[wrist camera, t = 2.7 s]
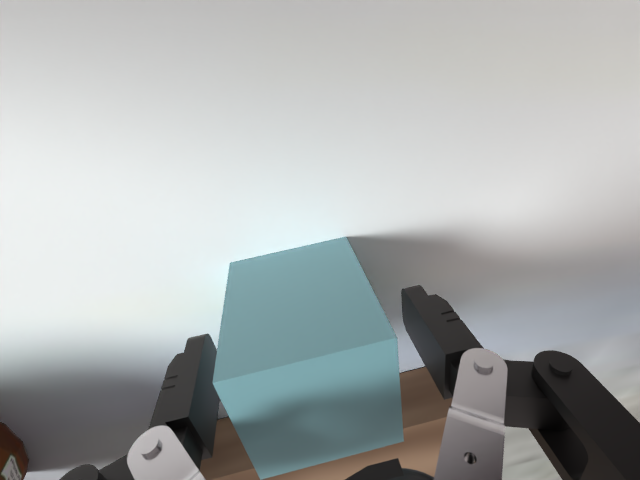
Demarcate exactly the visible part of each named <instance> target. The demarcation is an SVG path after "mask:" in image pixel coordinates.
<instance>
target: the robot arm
mask: <svg viewBox="0 0 640 480" xmlns="http://www.w3.org/2000/svg"><path fill="white" fill-rule="evenodd" d="M401 296H402V315H403V322H404V325H405V328H406V331H407V333H408V335H409V336H410V338H411V340H412V342H413V344H414V346H415V347H416V349H417V351H418V353H419V355H420V357H421V358H422V360H423V362H424V364H425V366H426V368H427V370H428V371H429V373H430V375H431V377H432V379H433V381H434V382H435V384H436V386H437V388H438V390H439V392H440V393H441V395H442V397H443V399H444V400H445V399H449V398H453V399H452V404H451V406H450V407H449V410H448V414H447V419H446V423H445V428H444V433H443V438H442V442H441V447H440V452H439V456H438V461H437V466H436V471H435V475H434V477H432V476H430V475H428V474H426V473H424V472H421V471H417V470H413V469H408V468H401V465H400V462H399V459H398V458H396V459H392V460H388V461H384V462H381V463H377V464H373V465H369V466H366V467H365V468H363V469H361V470H360V471H358V472H356V473H355V474H353V475H351V476H350V477H348V478H347V479H345V480H502V469H503V453H504V438H505V426H509V427H520V428H529V430H530V431H531V433H532V434H533V436H534V437H535V439H536V440H537V442H538V443H539V445H540V446H541V448H542V449H543V451H544V452H545V454H546V455H547V457H548V458H549V460H550V461H551V463H552V464H553V466H554V467H555V469H556V470H557V472H558V474H559V475H560V477H561V478H562V480H640V423H639V422H638V421H637V420H636V419H635V418H634V417H633V416H632V415H631V414H630V413H629V412H628V411H627V410H626V409H625V408H624V407H623V406H622V405H621V403H620V402H619V401H618V400H617V399H616V398H615V397H614V396H613V395H612V394H611V393H610V392H609V391H608V390H607V389H606V388H605V387H604V386H603V385H602V384H601V383H600V382H599V381H598V380H597V379H596V378H595V377H594V376H593V375H592V374H591V373H590V372H589V371H588V370H587V369H586V368H585V367H584V366H583V365H582V364H581V363H580V362H579V361H578V360H576V359H575V358H573V357H572V356H570V355H568V354H565V353H562V352H558V351H543V352H540V353H538V354H537V355H536V356H535V358H534V362H527V361H509V360H504V359H502V358H501V357H500V356H499V355H498V354H496V353H495V352H493V351H490V350H487V349H484V348H483V347H482V346H481V344H480V343H479V342H478V341H477V339H476V338H475V337H474V335H473V334H472V333H471V332H470V330H469V329H468V328H467V326H466V325H465V324H464V323H463V321H462V320H460V318H459V316H458V315H457V314H456V312H454V310H453V309H452V307H451V306H450V305H449V303H448V302H447V301H446V300H444V299H442V298H441V297H439V296H438V295H436V294H435V295H431V296H428V295H427V293H426V292H425V291H424V289H423V288H422V287H421V286H420V285H418V286H414V287H409V288H405V289H402V291H401ZM216 355H217V350H216V348H215V345H214V343H213V341H212V339H211V337H210V335H209V334H204V335H200V336H195V337H191V338H189V339H188V340H187V343H186V347H185V350H184V353H180V354H177V355H176V356H175V358H174V359H173V360H172V362H171V363H170V364H169V366H168V369H167V372H166V375H165V380H164V381H163V385H162V390H161V391H160V394H159V397H158V401H157V404H156V407H155V410H154V414H153V417H152V420H151V423H150V426H149V429H148V430H147V431H146V432H144V433H143V434H142V435H141V436H139V438H138V439H137V440H136V441H135V442H134V443H133V445H132V447H131V448H130V450H129V453H128V454H127V455H126V456H124V457H122V458H120V459H119V460H117V461H115V462H113V463H111V464H110V465H108V466H106V467H104V468H102V469H100V470H98V469H97V468H96V467H95V466H93V465H90V464H85V465H81V466H79V467H76V468H74V469H73V470H71V471H69V472H68V473H67V474H65V475H64V476H63V477H62V478H61V479H60V480H205V478H204V477H203V475H202V474H201V472H200V466H201V460H204V459H208V458H212V456H213V448H214V440H215V432H216V425H217V417H218V409H219V401H220V398H219V395H218V393H217V391H216V389H215V387H214V385H213V383H212V382H213V375H214V369H215V362H216Z"/></svg>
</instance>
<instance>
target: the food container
mask: <svg viewBox="0 0 640 480" xmlns="http://www.w3.org/2000/svg"><path fill="white" fill-rule="evenodd" d="M28 463H29V458H28V456H27V453H26V450H25V447H24V444H23V442H22V441H21V440H20V439H19V438H18V437H17V436H16V435H15V434H14V433H13V432H12V431H11V430H10V429H9V428H8V427H7V426H6V425H5V424H4V423H2V422H0V480H23V479H24V477H25V475H26V473H27V468H28Z"/></svg>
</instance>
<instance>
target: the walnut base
mask: <svg viewBox="0 0 640 480" xmlns="http://www.w3.org/2000/svg"><path fill="white" fill-rule="evenodd" d="M399 377H400V392H401V407H402V422H403V437H404V441H403V442H400V443H396V444H392V445H388V446H385V447H381V448H377V449H374V450H370V451H366V452H362V453H359V454H355V455H351V456H347V457H344V458H340V459H336V460H333V461H329V462H325V463H321V464H318V465H314V466H310V467H306V468H303V469H299V470H295V471H291V472H288V473H284V474H280V475H277V476H273V477H269V478H265V479H262V480H345V479H347V478H348V477H350V476H351V475H353V474H355V473H356V472H358V471H360V470H361V469H363V468H365V467H366V466H369V465H373V464H377V463H381V462H384V461H388V460H392V459H396V458H398V459H399V462H400V465H401V468H408V469H413V470H417V471H421V472H424V473H426V474H428V475H430V476H432V477H434V475H435V471H436V466H437V461H438V456H439V452H440V447H441V442H442V438H443V433H444V428H445V423H446V419H447V414H448V410H449V407H450V406H451V404H452V399H453V398H449V399H445V400H444V399H443V397H442V395H441V393H440V392H439V390H438V388H437V386H436V384H435V382H434V381H433V379H432V377H431V375H430V373H429V371H428V370H427V368H426V367H423V368H419V369H415V370H411V371H407V372H403V373H400V374H399ZM200 472H201V474H202V475H203V477H204V478H205V480H260V478H259V476H258V474H257V472H256V470H255V468H254V466H253V464H252V462H251V460H250V458H249V456H248V454H247V452H246V450H245V448H244V446H243V444H242V442H241V440H240V438H239V436H238V434H237V432H236V430H235V428H234V426H233V424H232V422H231V420H230V418H229V417H227V418H223V419H219V420H217V425H216V432H215V440H214V448H213V456H212V458H208V459H204V460H201V466H200Z"/></svg>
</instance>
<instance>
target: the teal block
mask: <svg viewBox="0 0 640 480" xmlns="http://www.w3.org/2000/svg"><path fill="white" fill-rule="evenodd" d="M212 383H213V385H214V387H215V389H216V391H217V393H218V395H219V398H220V400H221V402H222V404H223V406H224V408H225V410H226V412H227V414H228V416H229V418H230V420H231V422H232V424H233V426H234V428H235V430H236V432H237V434H238V436H239V438H240V440H241V442H242V444H243V446H244V448H245V450H246V452H247V454H248V456H249V458H250V460H251V462H252V464H253V466H254V468H255V470H256V472H257V474H258V476H259V478H260V480H262V479H265V478H269V477H273V476H277V475H280V474H284V473H288V472H291V471H295V470H299V469H303V468H306V467H310V466H314V465H318V464H321V463H325V462H329V461H333V460H336V459H340V458H344V457H347V456H351V455H355V454H359V453H362V452H366V451H370V450H374V449H377V448H381V447H385V446H388V445H392V444H396V443H400V442H403V441H404V437H403V422H402V407H401V392H400V377H399V362H398V347H397V337H396V335H395V333H394V331H393V329H392V327H391V325H390V323H389V321H388V319H387V317H386V315H385V313H384V311H383V309H382V307H381V305H380V303H379V301H378V299H377V297H376V295H375V293H374V291H373V289H372V287H371V285H370V283H369V281H368V279H367V277H366V275H365V273H364V271H363V269H362V267H361V265H360V263H359V261H358V259H357V257H356V255H355V253H354V251H353V249H352V247H351V245H350V243H349V241H348V239H347V237H342V238H338V239H334V240H329V241H325V242H320V243H316V244H311V245H307V246H303V247H298V248H294V249H289V250H285V251H280V252H276V253H271V254H267V255H263V256H258V257H254V258H249V259H245V260H240V261H236V262H231V263H230V266H229V273H228V280H227V287H226V294H225V300H224V307H223V314H222V321H221V328H220V335H219V341H218V348H217V355H216V362H215V369H214V375H213V382H212Z"/></svg>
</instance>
